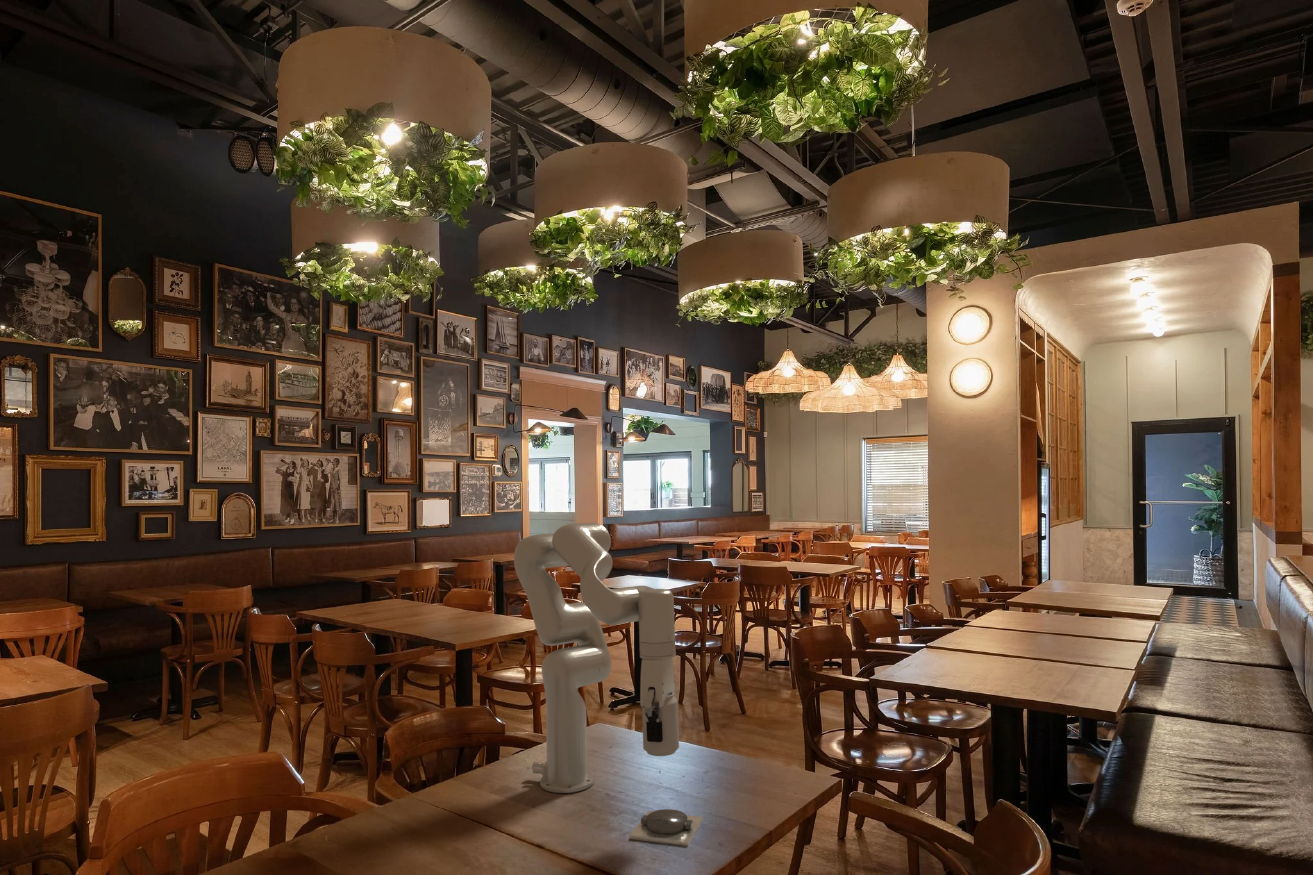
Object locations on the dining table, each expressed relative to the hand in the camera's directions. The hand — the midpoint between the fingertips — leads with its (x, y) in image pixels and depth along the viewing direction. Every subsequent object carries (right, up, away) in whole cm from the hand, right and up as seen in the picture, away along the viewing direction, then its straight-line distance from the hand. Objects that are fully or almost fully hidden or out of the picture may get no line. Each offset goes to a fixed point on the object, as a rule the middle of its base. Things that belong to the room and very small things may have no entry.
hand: (660, 735), depth 164 cm
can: (0, -4, 0) cm, 4 cm away
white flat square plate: (+1, -19, -2) cm, 19 cm away
